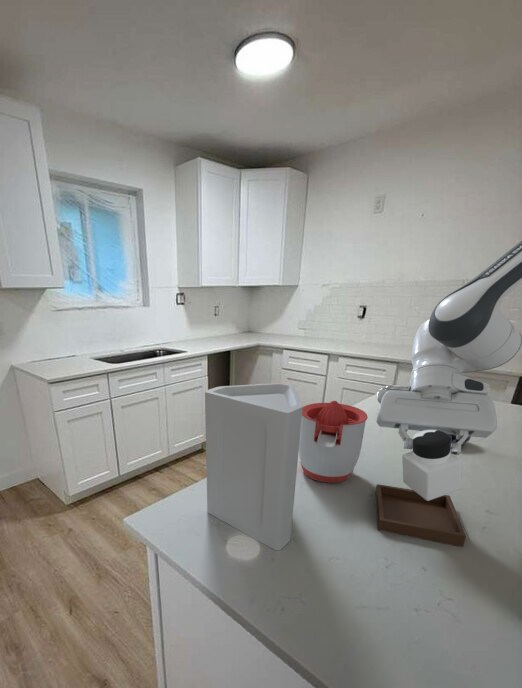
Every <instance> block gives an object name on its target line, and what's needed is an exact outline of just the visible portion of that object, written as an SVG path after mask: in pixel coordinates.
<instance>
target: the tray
mask: <svg viewBox="0 0 522 688" xmlns="http://www.w3.org/2000/svg"><path fill="white" fill-rule="evenodd" d="M374 498H375V499H374V500H375V511H376V512H375V513H376V523H377V525H376V526H377V531H380V532H384V533H385V532H386V533H388V534H389V533H390V534H395V535H400V536H405V537H408V538H409V537H410V538H414V539H420V540H424V541H430V542H434V543H441V544H445V545H450V546H456V547H459V548H460V547H461V548H464V545H465V542H466V540H467V534H466V532H465V529H464V527H463V524H462V522H461V520H460V517H459V514H458V512H457V510H456V508H455V505H454V503H453V500H452V498H451V496H450V495H449V494H446V495H443V496H440V497H438V498H435V499H432V500H429V501H427V500H425V499H424V498H423V497H422V496H420V495H419V494H418V493H416V492H415V491H414V490H413V489H411V488H403V487H398V486H391V485H384V484H378V483H376V486H375V492H374Z"/></svg>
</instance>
